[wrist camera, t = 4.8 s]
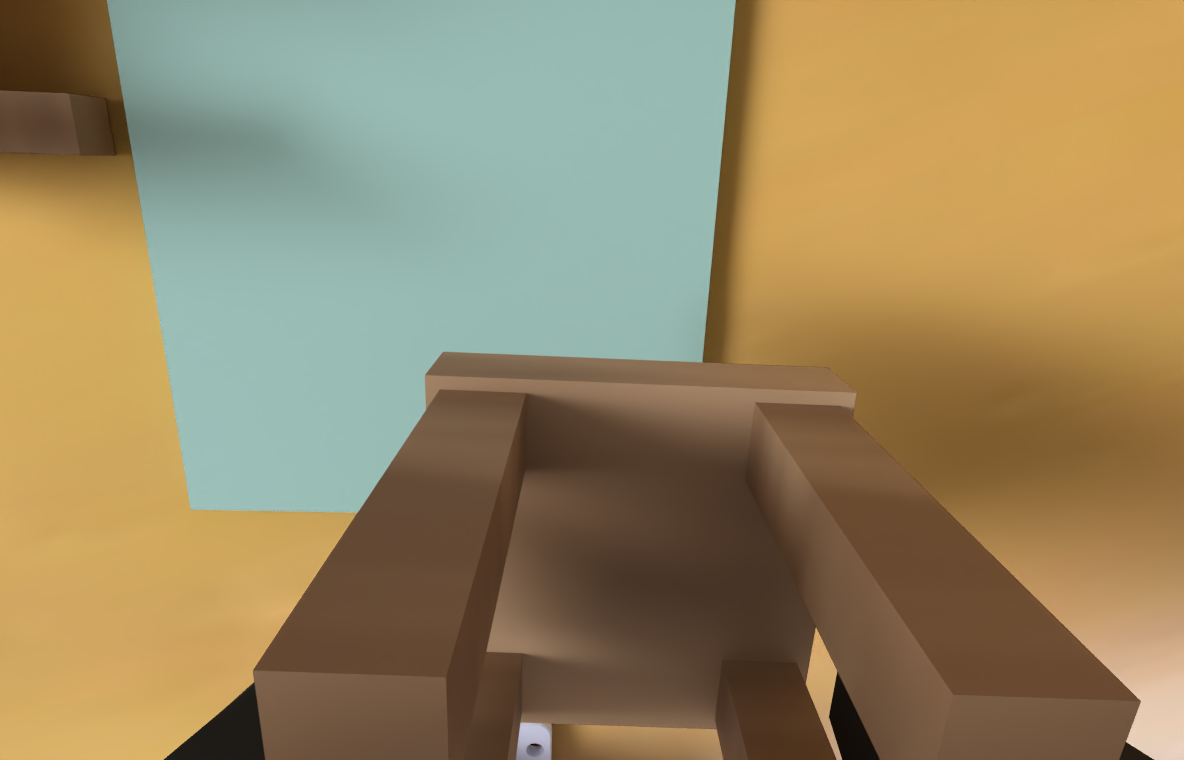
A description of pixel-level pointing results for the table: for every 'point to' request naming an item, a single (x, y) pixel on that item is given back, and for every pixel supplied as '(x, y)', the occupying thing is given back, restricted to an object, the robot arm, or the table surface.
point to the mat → (408, 210)
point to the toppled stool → (54, 124)
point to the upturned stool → (666, 582)
